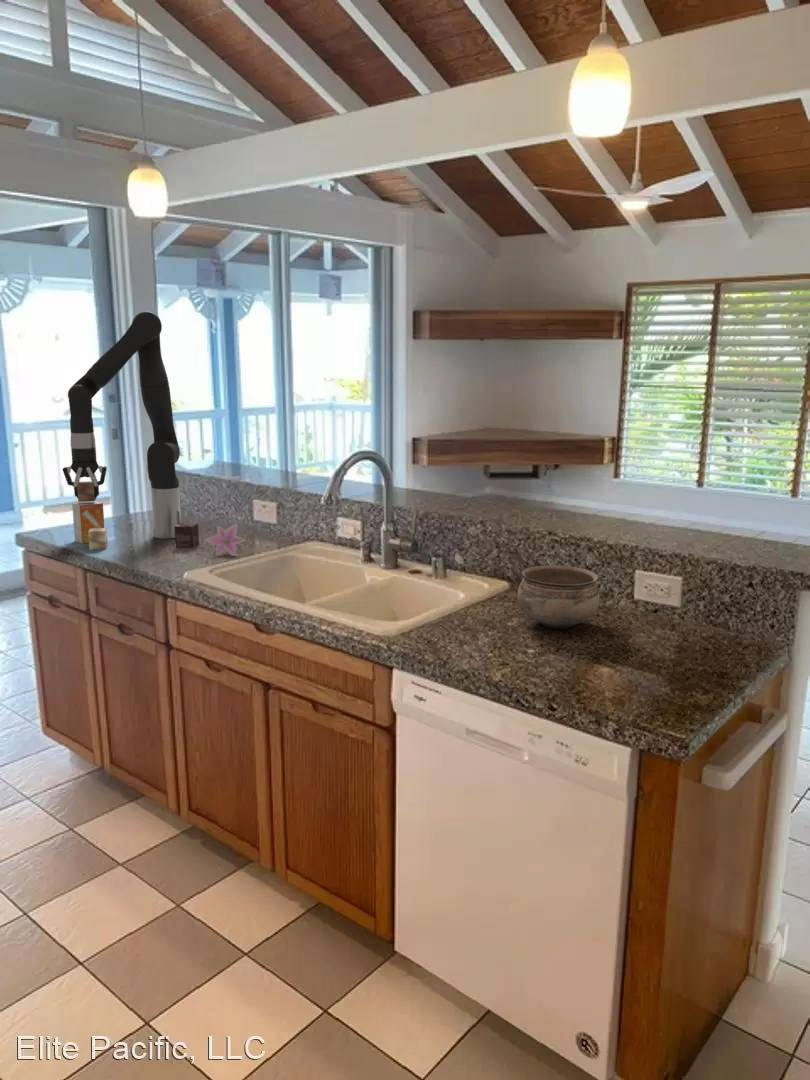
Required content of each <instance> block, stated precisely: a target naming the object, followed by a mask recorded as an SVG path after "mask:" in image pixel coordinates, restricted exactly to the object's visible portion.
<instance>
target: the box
mask: <svg viewBox="0 0 810 1080" xmlns="http://www.w3.org/2000/svg"><path fill="white" fill-rule="evenodd" d="M199 532H200V531H199V523H197V522H196V523H195V522H193V523H192V522H181V523H180V524H178V525H176V526H175V538H174V539H175V541H174V542H175V548H176V549H177V548H178V549H179V548H180V549H182V548H183V549H184V548H185V549H194V548H196V547H197V546H198V545H200V536H199V535H200V533H199Z"/></svg>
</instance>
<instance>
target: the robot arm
mask: <svg viewBox="0 0 810 1080" xmlns="http://www.w3.org/2000/svg"><path fill="white" fill-rule="evenodd" d="M162 324H163V323H162V321H161V319H160V317H159V316H158V315H157V314H155V312H151V311H141V312H139V313H137V314H135V316H134V318H133V319H132V321H131V324H130V326H129V327H128V328H127V330H126V331H125V333H124V334H123V335H122V336H121V337H120V339H119V340H118V341H117V342H115V344H114V345H113V346H112V347H110V348H109V349H108V350H107V351H105V353H104V354H103V355H101V356H100V358H98V360H96V361H95V362H94V363H93V364H92V366H90V367H89V369H88V370H87V371H86V373H85V374H84V375H82V376H81V377H80V378H79V379H78V380H77V381H76V382H75V383H74V384H72V386H70V388H69V389H68V391H67V399H68V404H69V412H70V418H69V419H70V420H69V426H70V428H69V430H70V450H71V465H70V466H64V467H63V468H62V472H63V475H64V477H65V480H66V483H67V485H68V486H72V487H73V490H74V497H75V498H76V499H78V492H77V483H78V482H81V481H80V480H81V478H90V481H92V482H93V483H94V495H95V498H96V499H97V498H98V497H99V495H100V486H101V485H103V484H105V479H106V476H107V469H108V467H107V466H106V465H104V466H102V465H99V464H98V461H97V450H96V449H97V448H96V445H97V444H96V438H95V433H94V431H95V430H94V420H93V400H92V399H93V397H95V396H96V394H97V393H98V392H99V391H100V390H101V389H102V388H104V387H105V386H107V385H108V384H109V383H110V382H111V381H112V379H114V377H115V376H116V375H117V374H118V373H120V371H121V370H122V369H123V367H124V366H125V365H126V364H127V363H128V362H129V360H130V359H131V358H132V357H133V356H134V355H135V354H136V353H137V355H138V368H139V369H138V372H139V384H140V385H139V386H140V392H141V399H142V403H143V406H144V408H145V411H146V413H147V416H148V418H149V421H150V424H151V427H152V432H153V434H152V435H153V442H152V443H151V444H150V445H149V447H148V448H147V452H146V462H147V472H148V473H147V474H148V480H149V482H150V492H151V508H152V509H151V510H152V524H153V525H152V526H153V537H154V538H155V539H175V526H176V525H178V524H180V523H182V517H181V512H182V511H181V501H180V499H181V498H180V481H179V478H178V477H177V475H176V463H177V462H178V461H179V459H180V456H181V452H180V451H181V450H180V446H179V442H178V438H177V434H176V431H175V425H174V415H173V407H172V396H171V389H170V382H169V378H168V374H167V371H166V367H165V364H164V361H163V357H162V352H161V340H160V339H161V337H160V336H161V333H162V330H163V325H162ZM71 470H72V471H73V472H74V474H75V478H74V481H73V480H72V477H71V475H70V473H71V472H72V471H71ZM97 470H99V473H100V478H99V481H98V479H97V476H96V472H97Z"/></svg>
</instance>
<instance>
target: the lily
mask: <svg viewBox="0 0 810 1080" xmlns="http://www.w3.org/2000/svg"><path fill="white" fill-rule="evenodd" d="M216 527H217V534H214V535H212V536H209V537H207V538H206V539H205V541H206V542H208V543H210V544H212V545H214V546H216V549H215V556H219V555H220V554H221V553H223V552H225V551H226V552H227V553H228V554H230V555H231V556H233V557H236V556H237V545H239V544H241V543H243V542H245V541H246V539H244V538H242V537H240V536H237V533H238V523H234V524H232V525H230V526H229V527H228V528H227V529H224V528H223V527H221V526H220V525H217V526H216Z"/></svg>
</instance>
